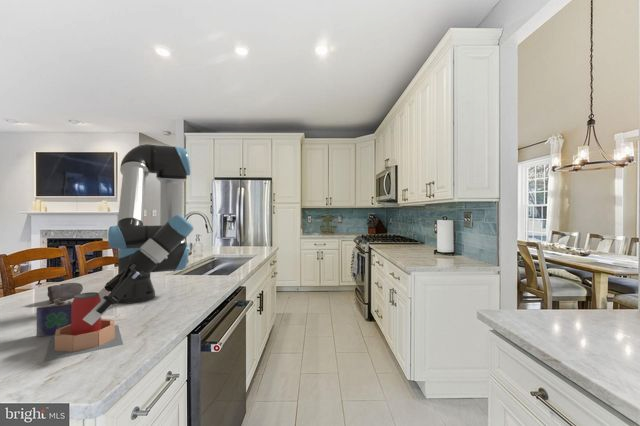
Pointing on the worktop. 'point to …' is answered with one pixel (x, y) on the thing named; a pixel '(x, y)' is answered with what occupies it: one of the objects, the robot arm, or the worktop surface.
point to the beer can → (84, 313)
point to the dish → (84, 337)
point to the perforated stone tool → (64, 291)
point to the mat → (54, 354)
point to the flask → (53, 317)
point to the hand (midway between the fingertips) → (87, 315)
